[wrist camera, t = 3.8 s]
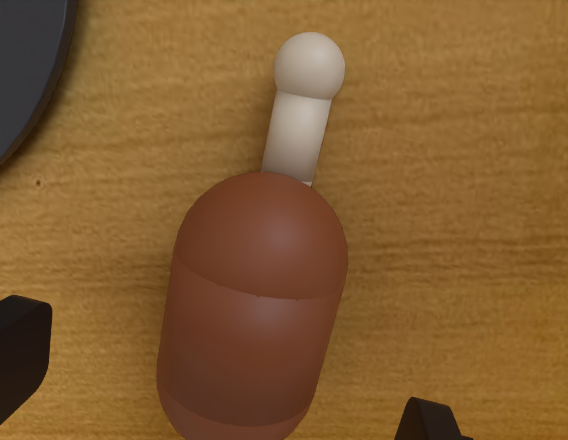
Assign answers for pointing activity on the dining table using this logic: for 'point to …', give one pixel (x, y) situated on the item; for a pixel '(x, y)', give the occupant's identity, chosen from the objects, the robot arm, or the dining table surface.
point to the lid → (30, 63)
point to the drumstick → (258, 273)
